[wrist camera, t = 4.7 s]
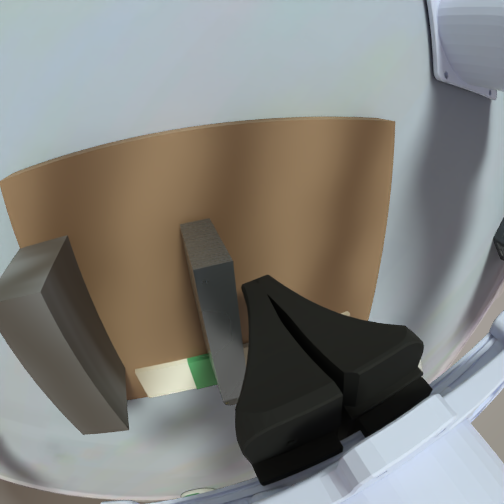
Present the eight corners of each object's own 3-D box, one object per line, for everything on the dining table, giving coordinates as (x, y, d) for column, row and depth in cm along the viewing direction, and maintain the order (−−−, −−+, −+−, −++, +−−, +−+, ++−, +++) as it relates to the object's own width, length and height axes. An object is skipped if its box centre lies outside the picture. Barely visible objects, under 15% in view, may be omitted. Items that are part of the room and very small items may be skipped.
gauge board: (376, 118, 14) (457, 136, 9) (354, 319, 21) (398, 369, 16) (13, 173, 9) (-53, 219, 5) (106, 385, 16) (109, 458, 12)
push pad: (209, 218, 12) (233, 260, 9) (234, 378, 17) (253, 425, 14) (179, 224, 11) (192, 269, 8) (215, 383, 16) (231, 431, 14)
